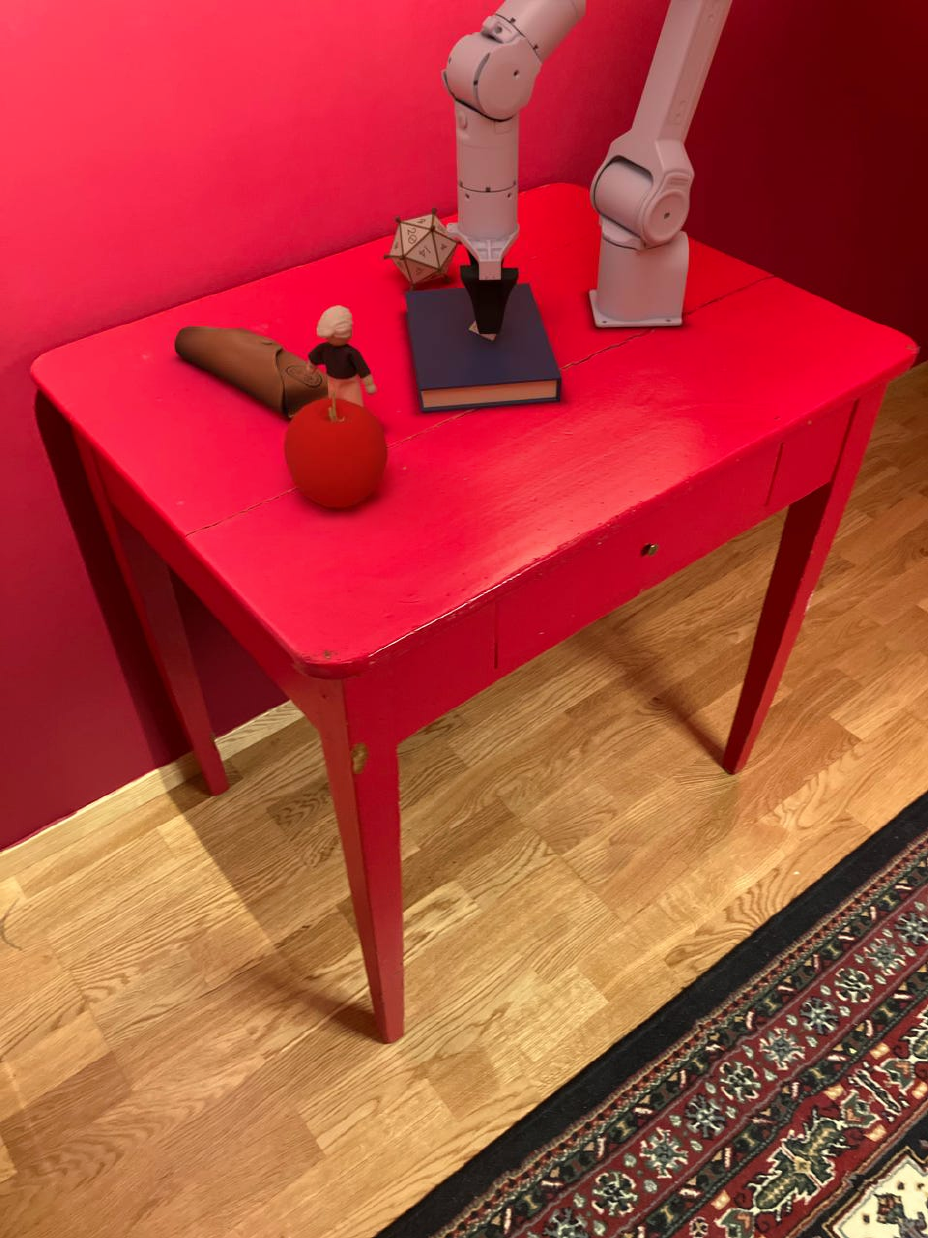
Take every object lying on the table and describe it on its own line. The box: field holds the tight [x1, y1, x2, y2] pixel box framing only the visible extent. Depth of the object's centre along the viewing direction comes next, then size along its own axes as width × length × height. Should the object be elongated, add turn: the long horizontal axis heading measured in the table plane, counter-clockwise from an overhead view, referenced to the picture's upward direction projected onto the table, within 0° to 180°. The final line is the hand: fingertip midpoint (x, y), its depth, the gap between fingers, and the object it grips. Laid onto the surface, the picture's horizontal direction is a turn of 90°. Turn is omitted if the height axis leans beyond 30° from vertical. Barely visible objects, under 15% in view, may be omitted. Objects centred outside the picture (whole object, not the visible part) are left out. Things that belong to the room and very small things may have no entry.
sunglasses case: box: [173, 325, 329, 420], centre depth 105 cm, size 18×7×7 cm
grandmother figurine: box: [306, 305, 378, 408], centre depth 95 cm, size 8×4×13 cm, turn 71°
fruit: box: [283, 390, 389, 508], centre depth 89 cm, size 9×9×10 cm
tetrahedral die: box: [469, 321, 496, 341], centre depth 106 cm, size 4×3×3 cm
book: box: [404, 282, 563, 414], centre depth 108 cm, size 14×20×3 cm
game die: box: [381, 205, 464, 291], centre depth 118 cm, size 9×8×10 cm
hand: (488, 313), depth 105 cm, fingers open, 7 cm apart
